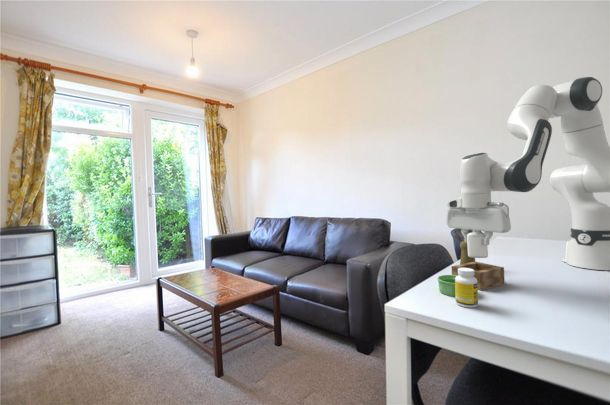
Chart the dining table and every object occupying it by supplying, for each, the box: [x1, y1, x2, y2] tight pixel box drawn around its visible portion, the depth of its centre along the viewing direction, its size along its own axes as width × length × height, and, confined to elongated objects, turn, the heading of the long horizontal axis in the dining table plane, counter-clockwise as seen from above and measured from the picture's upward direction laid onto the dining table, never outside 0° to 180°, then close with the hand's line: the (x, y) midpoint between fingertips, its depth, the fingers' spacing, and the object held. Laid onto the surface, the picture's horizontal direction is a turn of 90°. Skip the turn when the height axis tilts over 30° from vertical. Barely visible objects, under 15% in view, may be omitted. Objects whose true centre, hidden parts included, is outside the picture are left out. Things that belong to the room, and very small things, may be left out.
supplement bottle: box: [454, 268, 479, 309], centre depth 79 cm, size 5×5×10 cm
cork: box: [459, 240, 476, 265], centre depth 113 cm, size 6×6×11 cm
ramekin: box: [436, 274, 458, 298], centre depth 88 cm, size 9×9×4 cm
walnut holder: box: [451, 261, 505, 292], centre depth 96 cm, size 12×10×6 cm
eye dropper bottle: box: [467, 230, 489, 259], centre depth 95 cm, size 4×6×12 cm
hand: (476, 243), depth 95 cm, fingers closed on eye dropper bottle, 5 cm apart
